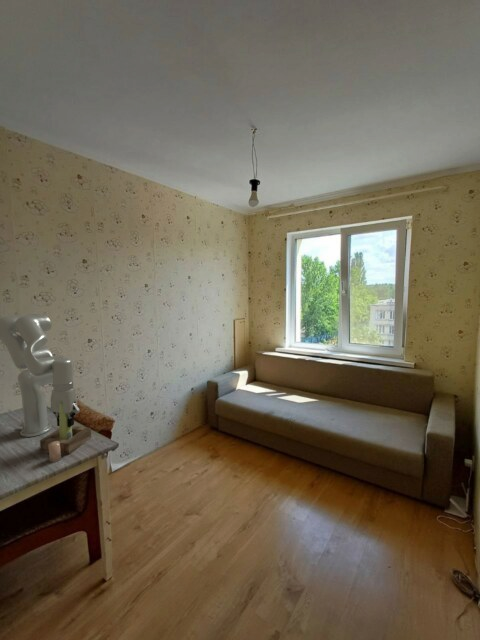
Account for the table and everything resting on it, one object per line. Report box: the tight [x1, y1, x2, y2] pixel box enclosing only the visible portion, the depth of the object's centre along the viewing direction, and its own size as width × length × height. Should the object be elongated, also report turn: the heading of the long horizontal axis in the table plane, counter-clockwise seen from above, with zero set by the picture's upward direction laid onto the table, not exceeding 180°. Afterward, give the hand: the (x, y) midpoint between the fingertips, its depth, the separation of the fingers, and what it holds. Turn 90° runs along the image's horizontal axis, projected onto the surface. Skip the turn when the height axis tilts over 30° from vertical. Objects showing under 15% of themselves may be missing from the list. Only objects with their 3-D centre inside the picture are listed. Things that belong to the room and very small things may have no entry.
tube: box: [58, 402, 73, 440], centre depth 129 cm, size 6×5×20 cm
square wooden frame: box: [39, 425, 92, 455], centre depth 130 cm, size 14×14×5 cm
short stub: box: [48, 441, 62, 463], centre depth 119 cm, size 4×4×7 cm
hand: (65, 424), depth 130 cm, fingers closed on tube, 4 cm apart
